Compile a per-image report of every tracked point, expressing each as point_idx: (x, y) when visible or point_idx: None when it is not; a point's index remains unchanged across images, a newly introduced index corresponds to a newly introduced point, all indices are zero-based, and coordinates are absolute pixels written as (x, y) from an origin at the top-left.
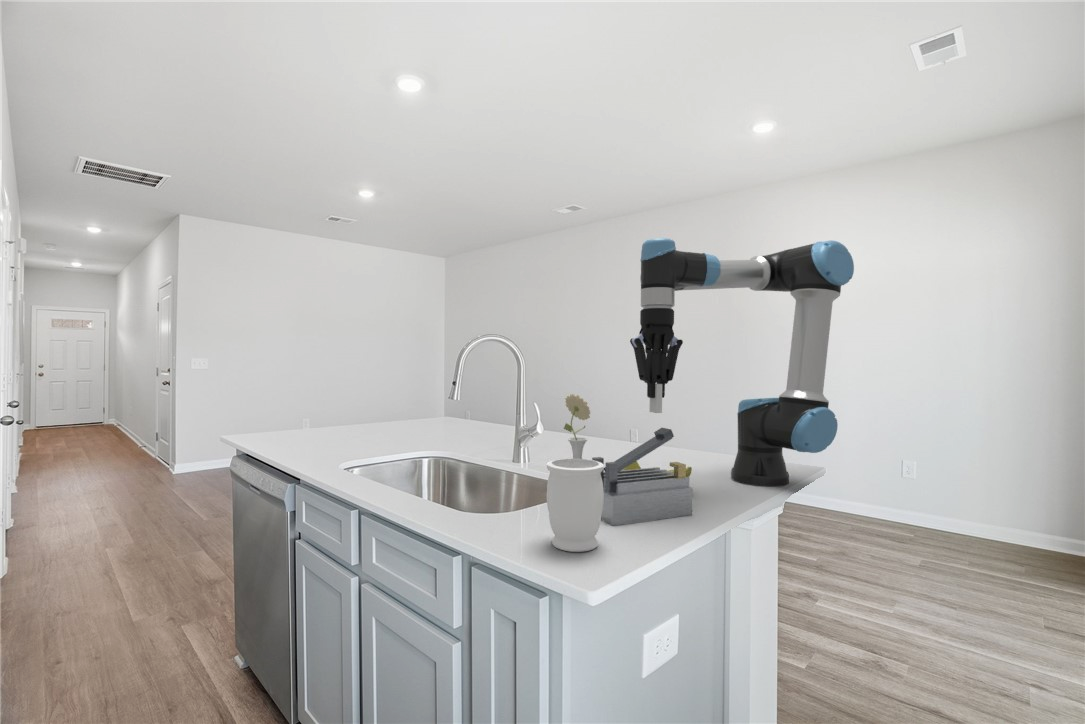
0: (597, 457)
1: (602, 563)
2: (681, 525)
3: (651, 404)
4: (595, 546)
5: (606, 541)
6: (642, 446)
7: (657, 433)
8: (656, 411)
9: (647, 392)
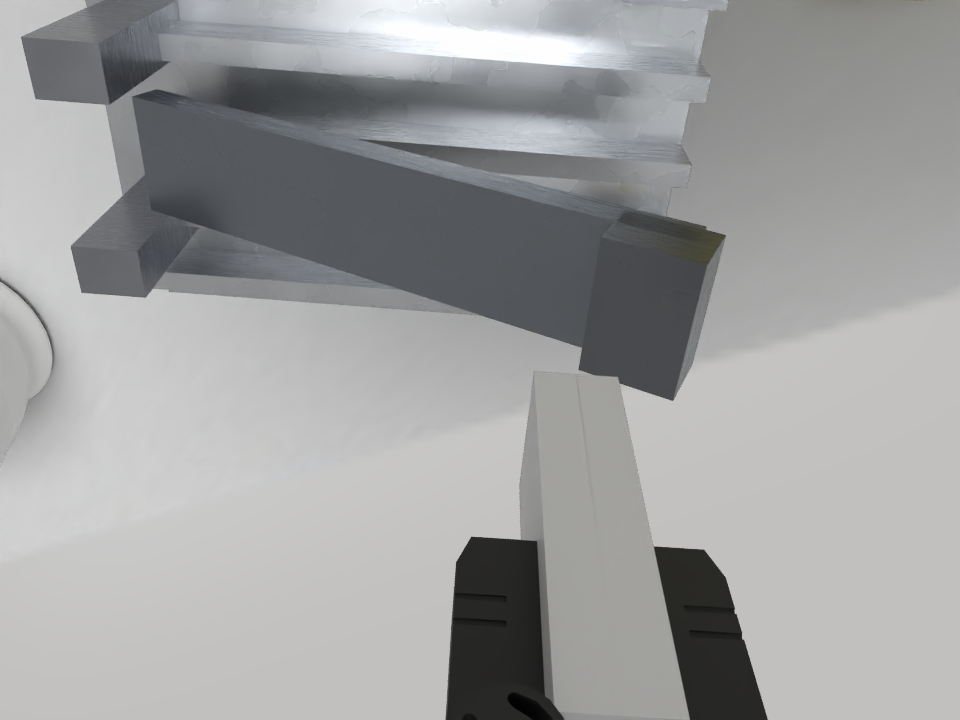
0: (67, 53)
1: (26, 476)
2: (473, 337)
3: (534, 469)
4: (30, 398)
5: (98, 352)
6: (438, 215)
7: (593, 287)
8: (521, 497)
9: (454, 603)
